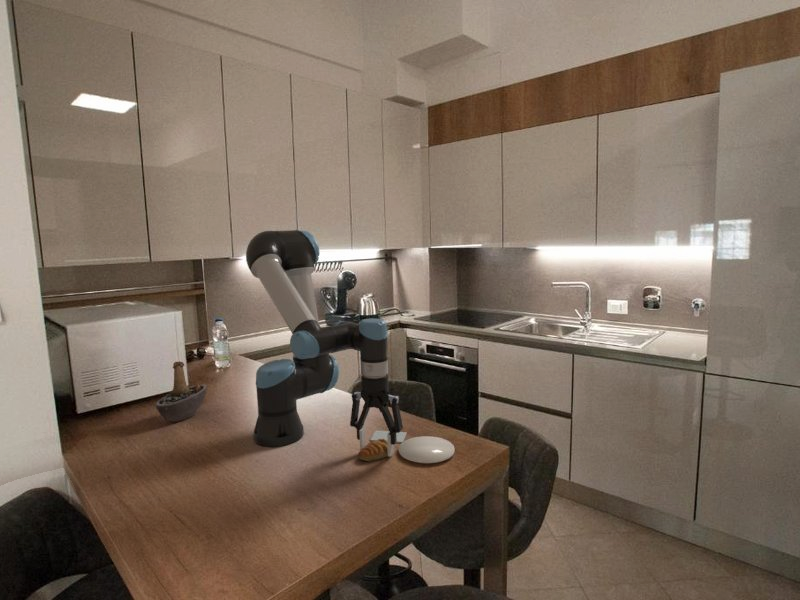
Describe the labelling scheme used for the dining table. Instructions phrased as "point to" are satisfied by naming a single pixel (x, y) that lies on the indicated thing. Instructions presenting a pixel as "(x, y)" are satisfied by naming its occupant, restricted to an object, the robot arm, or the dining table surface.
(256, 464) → the dining table surface
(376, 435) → the napkin
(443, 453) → the plate
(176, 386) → the planter
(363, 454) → the pastry
